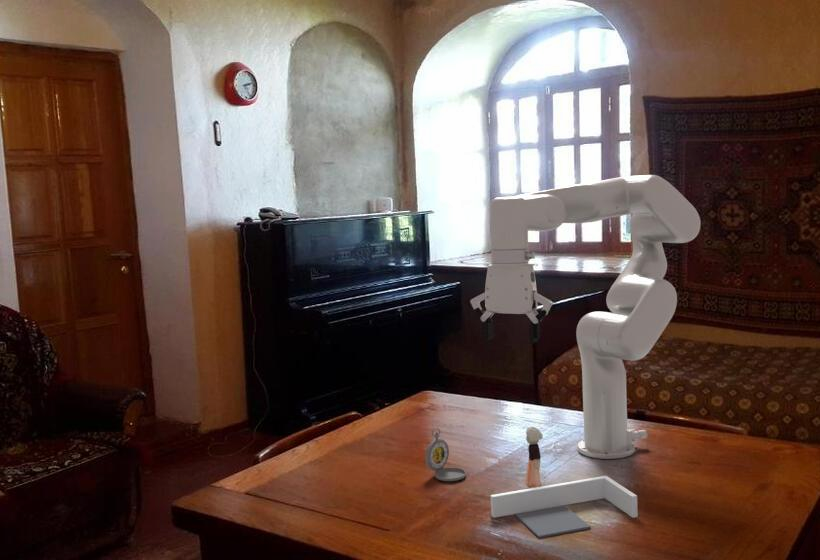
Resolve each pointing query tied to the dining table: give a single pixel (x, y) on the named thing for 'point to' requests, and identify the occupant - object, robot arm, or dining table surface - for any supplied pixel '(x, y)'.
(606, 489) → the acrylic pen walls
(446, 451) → the pocket watch
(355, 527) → the dining table surface
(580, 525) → the slate mat
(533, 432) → the grandmother figurine
